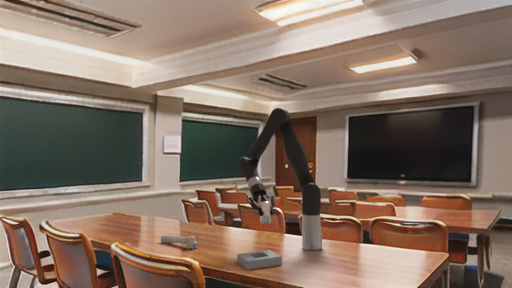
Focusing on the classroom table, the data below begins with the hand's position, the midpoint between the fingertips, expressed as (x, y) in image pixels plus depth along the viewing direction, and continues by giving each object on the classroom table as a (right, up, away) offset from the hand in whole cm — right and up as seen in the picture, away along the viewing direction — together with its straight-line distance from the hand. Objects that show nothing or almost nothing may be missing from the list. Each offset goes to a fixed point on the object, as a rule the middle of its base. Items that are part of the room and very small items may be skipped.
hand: (267, 214), depth 169 cm
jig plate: (-4, -19, -14) cm, 23 cm away
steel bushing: (-1, -4, +2) cm, 5 cm away
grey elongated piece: (-46, -21, +19) cm, 54 cm away
